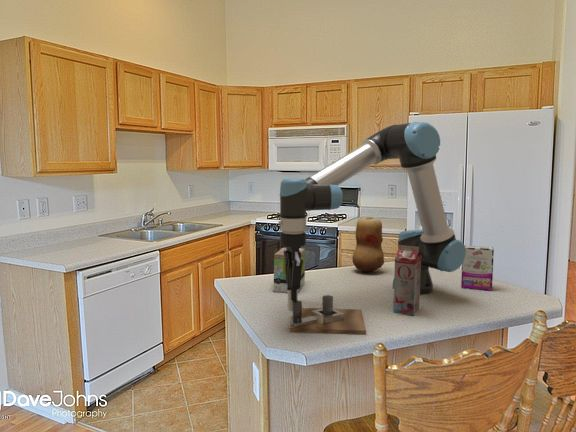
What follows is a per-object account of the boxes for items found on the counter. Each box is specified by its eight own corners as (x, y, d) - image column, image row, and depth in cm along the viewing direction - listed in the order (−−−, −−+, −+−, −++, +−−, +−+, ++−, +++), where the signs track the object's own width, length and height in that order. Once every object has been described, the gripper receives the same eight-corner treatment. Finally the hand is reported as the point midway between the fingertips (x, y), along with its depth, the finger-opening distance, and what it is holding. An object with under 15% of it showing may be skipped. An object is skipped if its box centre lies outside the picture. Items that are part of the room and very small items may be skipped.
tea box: (298, 293, 163) (298, 255, 162) (273, 292, 165) (272, 254, 164) (305, 282, 178) (305, 247, 176) (281, 281, 180) (281, 246, 178)
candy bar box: (491, 287, 170) (493, 246, 168) (492, 291, 165) (494, 249, 163) (460, 285, 174) (462, 244, 172) (460, 288, 170) (462, 247, 168)
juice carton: (413, 316, 139) (416, 248, 136) (393, 312, 142) (395, 246, 139) (419, 310, 144) (421, 245, 142) (399, 306, 148) (401, 243, 145)
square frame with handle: (330, 312, 138) (330, 291, 138) (344, 319, 132) (344, 297, 131) (286, 321, 130) (286, 299, 129) (299, 329, 124) (299, 306, 123)
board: (361, 313, 142) (361, 289, 141) (366, 334, 124) (366, 307, 123) (294, 311, 144) (294, 287, 143) (289, 332, 126) (289, 305, 125)
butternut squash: (354, 275, 189) (355, 219, 186) (350, 268, 202) (351, 215, 199) (386, 275, 189) (388, 218, 186) (380, 268, 202) (381, 215, 199)
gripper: (275, 228, 132) (275, 303, 135) (285, 236, 119) (285, 318, 122) (299, 228, 133) (299, 302, 136) (311, 235, 121) (310, 316, 124)
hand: (292, 309), depth 129 cm, fingers closed
